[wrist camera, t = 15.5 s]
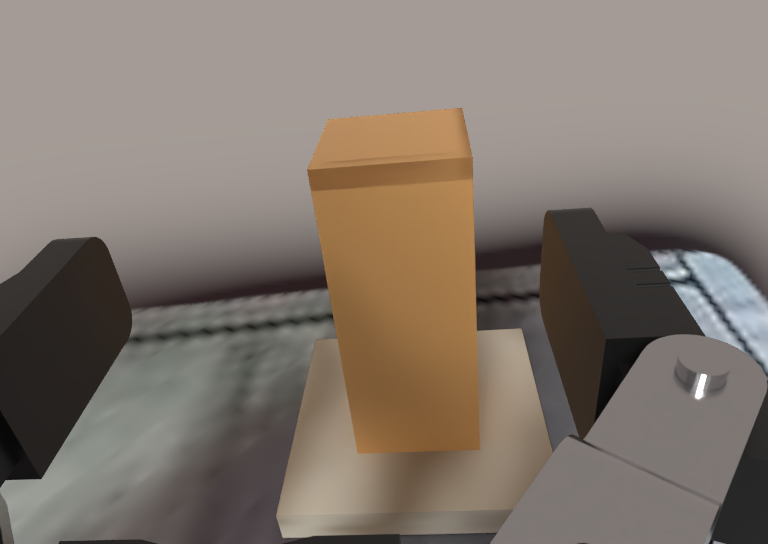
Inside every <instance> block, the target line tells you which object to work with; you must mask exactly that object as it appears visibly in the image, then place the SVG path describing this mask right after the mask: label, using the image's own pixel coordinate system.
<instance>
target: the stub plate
mask: <svg viewBox="0 0 768 544" xmlns="http://www.w3.org/2000/svg"><path fill="white" fill-rule="evenodd" d="M477 357H478V396H479V436H480V450H456V451H425V452H394V453H363V454H358V452H357V447H356V441H355V436H354V430H353V424H352V419H351V413H350V407H349V402H348V396H347V391H346V385H345V379H344V374H343V368H342V362H341V357H340V351H339V346H338V340H337V339H318V340H316V341H315V345H314V350H313V354H312V359H311V363H310V368H309V372H308V376H307V381H306V385H305V390H304V394H303V399H302V403H301V408H300V412H299V417H298V421H297V425H296V430H295V434H294V439H293V443H292V448H291V452H290V457H289V461H288V466H287V470H286V474H285V479H284V483H283V488H282V492H281V497H280V501H279V506H278V510H277V515H276V517H277V520H278V524H279V527H280V530H281V533H282V537H283V538H302V537H311V536H326V535H373V534H400V535H423V534H464V533H498V531H499V530H500V528H501V527H502V525H503V524H504V523H505V521H506V520H507V518H508V517H509V515H510V514H511V512H512V511H513V510H514V508H515V507H516V505H517V504H518V502H519V501H520V500H521V498H522V497H523V495H524V494H525V492H526V491H527V490H528V488H529V487H530V485H531V484H532V482H533V481H534V479H535V478H536V477H537V475H538V474H539V472H540V471H541V469H542V468H543V467H544V465H545V464H546V462H547V461H548V459H549V458H550V457H551V455H552V454H553V451H552V447H551V443H550V440H549V436H548V432H547V428H546V424H545V420H544V416H543V412H542V408H541V404H540V400H539V396H538V392H537V388H536V384H535V380H534V376H533V372H532V368H531V364H530V360H529V356H528V352H527V349H526V345H525V341H524V337H523V333H522V329H502V330H484V331H477Z"/></svg>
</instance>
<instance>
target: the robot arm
mask: <svg viewBox="0 0 768 544" xmlns="http://www.w3.org/2000/svg"><path fill="white" fill-rule="evenodd" d="M540 306H541V313H542V318H543V322H544V325H545V328H546V332H547V335H548V338H549V341H550V345H551V348H552V351H553V354H554V357H555V361H556V364H557V367H558V370H559V373H560V377H561V380H562V383H563V386H564V389H565V393H566V396H567V399H568V402H569V405H570V409H571V412H572V415H573V418H574V421H575V425H576V428H577V431H578V434H579V437H580V438H579V437H577V436H575V435H569V436H567V437H566V438H565V439H564V440H563V441H562V442H561V443H560V444H559V445H558V447H557V448H556V449H555V451H554V452H553V454H552V455H551V457H550V458H549V459H548V461H547V462H546V464H545V465H544V467H543V468H542V469H541V471H540V472H539V474H538V475H537V477H536V478H535V479H534V481H533V482H532V484H531V485H530V487H529V488H528V490H527V491H526V492H525V494H524V495H523V497H522V498H521V500H520V501H519V502H518V504H517V505H516V507H515V508H514V510H513V511H512V512H511V514H510V515H509V517H508V518H507V520H506V521H505V523H504V524H503V525H502V527H501V528H500V530H499V531H498V533H497V534H496V535H495V537H494V538H493V540H492V541H491V543H490V544H714V541H717V542H721V543H725V544H768V380H767V379H766V376H765V374H764V372H763V370H762V369H761V367H760V366H759V365H758V364H757V363H756V362H755V361H754V360H753V359H752V358H751V357H750V356H748V355H747V354H746V353H744V352H743V351H741V350H739V349H738V348H736V347H734V346H732V345H730V344H728V343H725V342H722V341H720V340H717V339H713V338H709V337H706V336H705V335H704V333H703V332H702V330H701V329H700V327H699V326H698V324H697V323H696V321H695V320H694V318H693V317H692V315H691V314H690V312H689V310H688V309H687V307H686V306H685V304H684V303H683V301H682V300H681V298H680V297H679V295H678V294H677V292H676V291H675V289H674V288H673V286H670V282H669V280H668V279H667V277H666V276H665V274H664V273H663V271H660V267H659V265H658V264H657V262H656V261H655V259H654V258H653V256H652V255H651V253H650V252H649V250H648V249H647V248H645V247H644V246H642V245H641V244H639V243H638V242H636V241H635V240H633V239H632V238H630V237H628V236H627V235H625V234H617V235H608V234H607V233H606V231H605V229H604V228H603V226H602V224H601V222H600V221H599V219H598V217H597V215H596V214H595V212H594V210H593V209H592V208H579V209H563V210H548V211H547V212H546V214H545V218H544V226H543V243H542V258H541V273H540ZM131 327H132V313H131V308H130V305H129V302H128V300H127V297H126V294H125V292H124V289H123V287H122V284H121V282H120V279H119V276H118V274H117V271H116V268H115V266H114V263H113V261H112V258H111V255H110V253H109V250H108V248H107V246H106V245H105V243H104V242H103V241H102V240H101V239H99V238H97V237H89V238H72V239H57V240H53V241H51V242H50V243H49V244H48V245H47V246H46V247H45V248H44V249H43V250H42V251H41V252H40V253H39V254H38V255H37V256H36V257H35V258H34V259H33V260H32V261H31V262H30V263H29V264H28V265H27V266H26V267H25V268H24V269H23V270H21V271H20V272H19V273H18V274H16V275H14V276H13V277H11V278H10V279H8V280H6V281H4V282H3V283H1V284H0V487H1V486H2V484H3V483H4V481H5V480H22V479H42V477H43V475H44V474H45V472H46V470H47V469H48V467H49V466H50V464H51V462H52V461H53V459H54V458H55V456H56V454H57V453H58V451H59V450H60V448H61V446H62V445H63V443H64V441H65V440H66V438H67V437H68V435H69V433H70V432H71V430H72V429H73V427H74V425H75V424H76V422H77V421H78V419H79V417H80V416H81V414H82V412H83V411H84V409H85V408H86V406H87V404H88V403H89V401H90V400H91V398H92V396H93V395H94V393H95V392H96V390H97V388H98V387H99V385H100V383H101V382H102V380H103V379H104V377H105V375H106V374H107V372H108V371H109V369H110V367H111V366H112V364H113V363H114V361H115V359H116V358H117V356H118V354H119V353H120V351H121V350H122V348H123V346H124V345H125V343H126V342H127V340H128V338H129V335H130V332H131ZM0 544H14V540H13V534H12V529H11V524H10V518H9V513H8V508H7V504H6V501H5V500H4V498H3V497H2V495H1V494H0ZM59 544H156V543H152V542H148V541H144V540H96V541H60V542H59ZM284 544H401V543H400V534H373V535H326V536H311V537H307V538H303V539H299V540H295V541H291V542H287V543H284Z"/></svg>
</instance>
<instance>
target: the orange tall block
mask: <svg viewBox="0 0 768 544" xmlns="http://www.w3.org/2000/svg"><path fill="white" fill-rule="evenodd" d="M307 171H308V176H309V182H310V188H311V194H312V199H313V205H314V210H315V216H316V222H317V227H318V233H319V239H320V244H321V250H322V256H323V261H324V267H325V272H326V278H327V284H328V289H329V295H330V301H331V306H332V312H333V317H334V323H335V329H336V334H337V340H338V346H339V351H340V357H341V362H342V368H343V374H344V379H345V385H346V391H347V396H348V402H349V407H350V413H351V419H352V424H353V430H354V436H355V441H356V447H357V452H358V454H363V453H394V452H425V451H456V450H480V436H479V396H478V357H477V318H476V279H475V240H474V202H473V201H474V200H473V162H472V153H471V148H470V143H469V139H468V134H467V130H466V125H465V120H464V115H463V111H462V108H455V109H444V110H432V111H421V112H408V113H397V114H385V115H373V116H362V117H350V118H338V119H328V121H327V123H326V126H325V128H324V131H323V133H322V135H321V138H320V140H319V143H318V145H317V148H316V150H315V153H314V155H313V158H312V160H311V162H310V165H309V167H308V169H307Z"/></svg>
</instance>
